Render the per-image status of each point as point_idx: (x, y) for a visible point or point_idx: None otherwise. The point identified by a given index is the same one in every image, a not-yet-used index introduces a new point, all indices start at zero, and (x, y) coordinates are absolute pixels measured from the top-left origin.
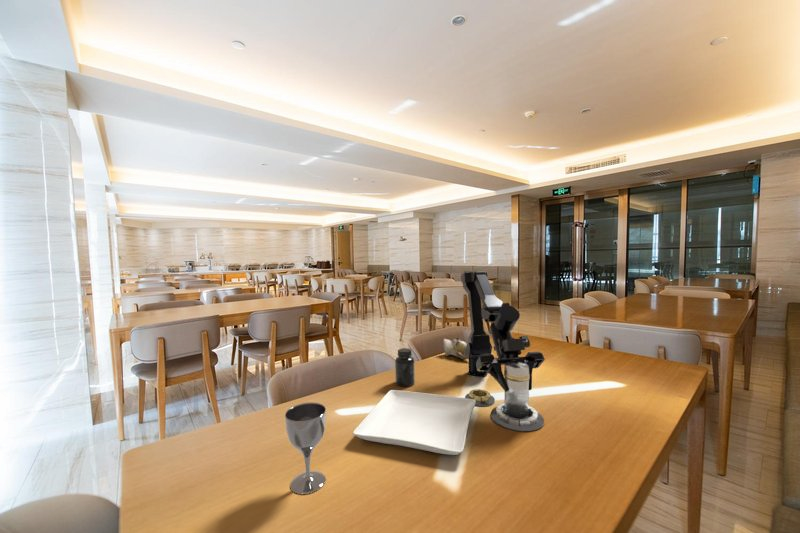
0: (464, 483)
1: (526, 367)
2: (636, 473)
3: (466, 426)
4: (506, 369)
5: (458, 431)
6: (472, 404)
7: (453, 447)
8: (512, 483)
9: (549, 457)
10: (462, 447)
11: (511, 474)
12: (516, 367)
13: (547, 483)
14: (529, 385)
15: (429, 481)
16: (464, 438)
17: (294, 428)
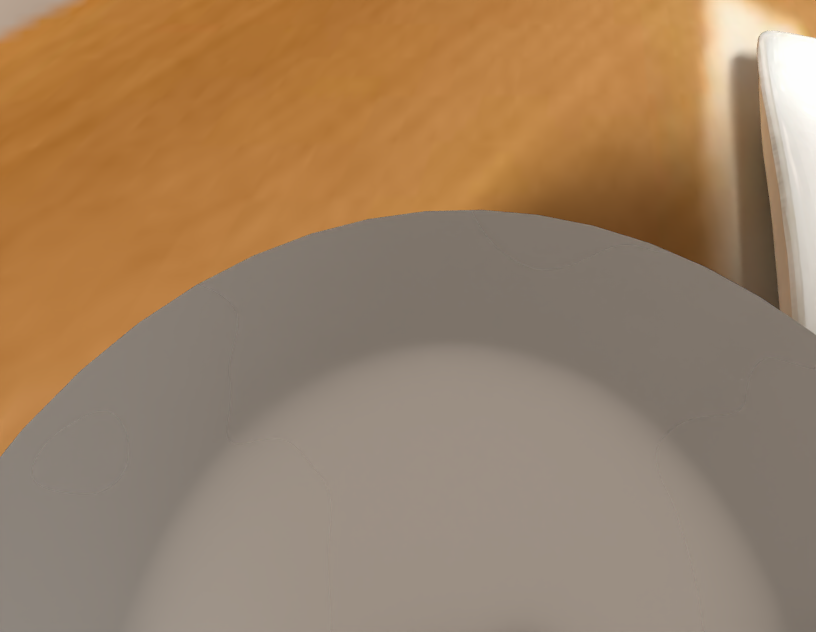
0: (692, 10)
1: (75, 524)
2: (8, 50)
3: (792, 202)
4: None
5: (804, 259)
6: None
7: (788, 141)
8: (528, 10)
9: (335, 132)
10: (765, 51)
11: (526, 44)
12: (558, 488)
13: (404, 9)
14: None
15: (809, 17)
16: (773, 106)
17: None
